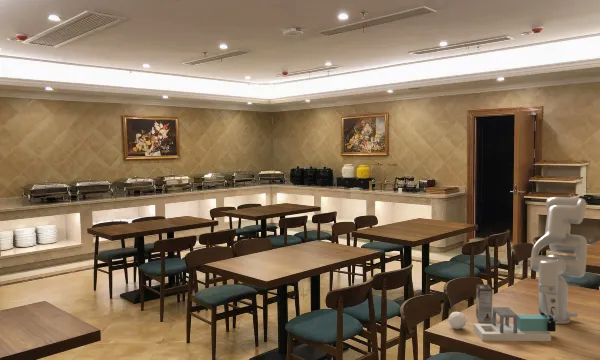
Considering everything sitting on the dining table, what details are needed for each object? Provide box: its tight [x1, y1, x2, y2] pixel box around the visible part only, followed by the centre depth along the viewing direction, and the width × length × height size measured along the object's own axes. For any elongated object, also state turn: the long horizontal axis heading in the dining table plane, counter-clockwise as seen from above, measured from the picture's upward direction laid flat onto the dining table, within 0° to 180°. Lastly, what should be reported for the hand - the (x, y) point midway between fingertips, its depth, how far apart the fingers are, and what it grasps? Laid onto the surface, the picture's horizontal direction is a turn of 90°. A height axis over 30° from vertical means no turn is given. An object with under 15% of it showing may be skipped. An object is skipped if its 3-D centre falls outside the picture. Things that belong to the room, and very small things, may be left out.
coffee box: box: [475, 284, 493, 324], centre depth 234 cm, size 9×6×16 cm
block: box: [517, 314, 557, 332], centre depth 213 cm, size 15×5×6 cm, turn 87°
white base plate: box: [473, 323, 552, 342], centre depth 214 cm, size 29×12×3 cm, turn 87°
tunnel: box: [491, 306, 518, 333], centre depth 214 cm, size 7×10×8 cm
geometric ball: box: [447, 311, 467, 330], centre depth 223 cm, size 8×8×8 cm
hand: (547, 327), depth 213 cm, fingers open, 7 cm apart
